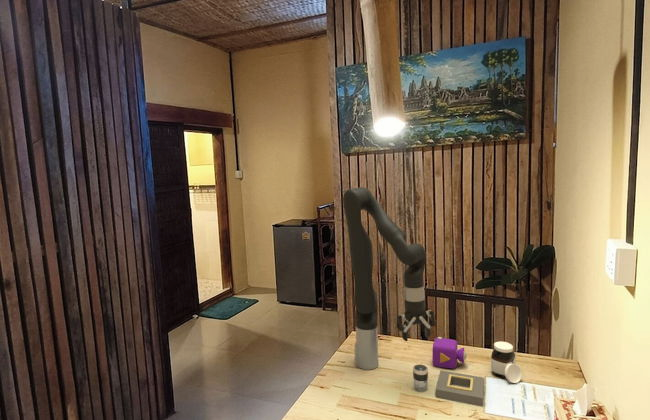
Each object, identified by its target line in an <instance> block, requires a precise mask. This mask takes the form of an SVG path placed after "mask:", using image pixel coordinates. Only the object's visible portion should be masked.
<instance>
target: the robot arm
mask: <svg viewBox="0 0 650 420" xmlns="http://www.w3.org/2000/svg"><path fill="white" fill-rule="evenodd" d="M342 204H343V210H344V215H345V220H346V224H347V225H346V226H347V231H348V232H347V233H348V234H347V235H348V246H349V256H350V262H351V269H352V270H351V271H352V277H353V280H354V281H353V282H354V283H353V284H354V303H353V304H354V307H355V320H354V321H355V324H354V325H355V343H354V366H355V367H357V368H359V369H362V370H365V371H369V370H374V369H377V368H378V367H379V328H378V327H379V326H378V321H379V320H378V319H379V318H378V315H379V313H378V295H377V294H378V293H377V292H376V291H375V288H374V284H373V273H374V272H373V270H374V255H373V254H374V252H373V243H372V239H371V238H370V236H369V234H368V231H366V229H365V228H364V225H363V222H362V215H361V214H362V213H361V212H362V211H363V210H364V211H365V212H367V213H368V214H369V215H370V216H371V217H372V219H373V221H374V223H375V225H376V228H377V232H378V233H379V235H380V236H381V237H382V238H383V239H384V240H385V241H386V242H387V243H388V244H389V245H390V246H391V249H392V250H393V252H394V254H395V255H396V257H397V258H398V260H399V261H400V262H401V263H402V264H404V265H405V266H408V267H407V269H405V271H404V273H403V286H404V288H403V298H404V299H403V300H404V301H403V302H404V313H401V314H400V313H399V312H398V313H396V329H397V330H398V331H399V332H401V337H402V339H403V341H405V342H408V330H409V328H411V326H415V325H420V324H423V325H424V336H425V338H426V339H429V338H430V336H431V328H433V327H435V326H436V323H435V322H436V321H435V312H434V311H433V310H432V309H430V308H429V309H428V310H426V295H425V293H426V292H425V288H424V285H425V284H424V272H425V268H426V267H425V266H426V260H427V253H426V249H425V247H424V246H423V245H422V244H421V243H418V242H415V243H411V244H408V243H407V242H406V240H407V234H406V233H405V232H404V231H403V230H402V229H401V227H399V226H398V225H397V224H396V223H395V221H394V220H392V219H391V217H389V215H388V214H387V212H386V211H385V210H384V209H383V207H382V205H381V204H380V203H379V202H378V200H377V199H376V198H375V196H374V195H373V192H371V191H370V189H368V188H366V187H363V186H362V187H354V188H348V189H346V190H345V192H344V193H343V197H342ZM426 316H427V317H428V321H426V319H425V318H426ZM404 318H405V320H404ZM403 321H404V322H403Z"/></svg>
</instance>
